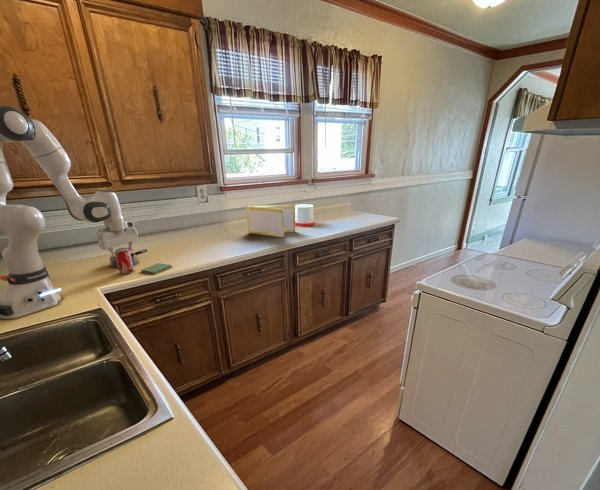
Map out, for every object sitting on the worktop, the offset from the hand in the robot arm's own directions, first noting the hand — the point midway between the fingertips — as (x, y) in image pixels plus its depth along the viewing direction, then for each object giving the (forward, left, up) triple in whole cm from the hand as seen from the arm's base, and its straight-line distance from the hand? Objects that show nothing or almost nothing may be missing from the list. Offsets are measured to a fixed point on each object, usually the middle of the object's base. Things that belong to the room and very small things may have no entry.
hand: (122, 253), depth 164 cm
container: (+141, -39, -10) cm, 146 cm away
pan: (+9, +12, -10) cm, 18 cm away
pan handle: (+20, +12, -7) cm, 25 cm away
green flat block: (+9, -11, -10) cm, 17 cm away
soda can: (0, 0, -10) cm, 10 cm away
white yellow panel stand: (+99, -32, -10) cm, 104 cm away
